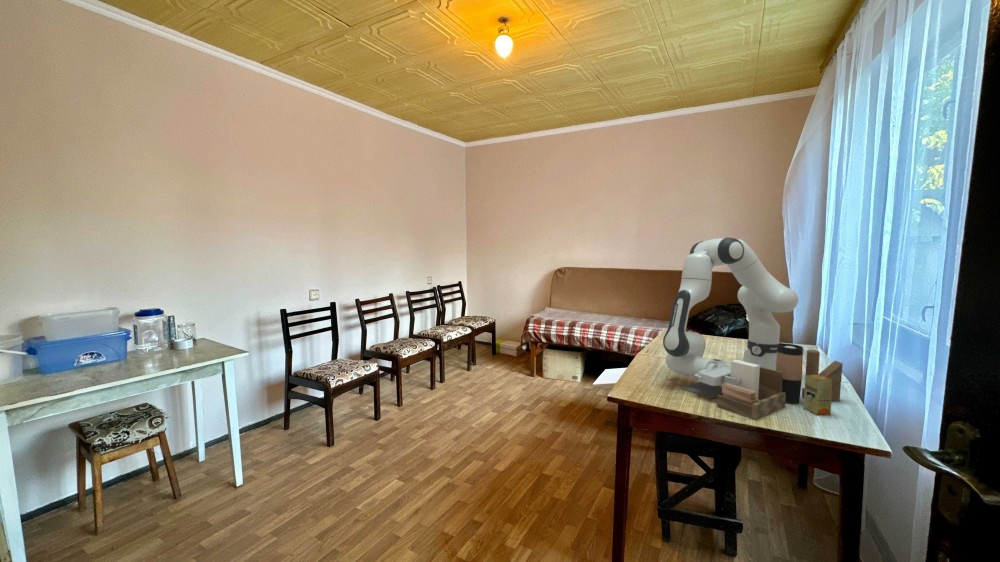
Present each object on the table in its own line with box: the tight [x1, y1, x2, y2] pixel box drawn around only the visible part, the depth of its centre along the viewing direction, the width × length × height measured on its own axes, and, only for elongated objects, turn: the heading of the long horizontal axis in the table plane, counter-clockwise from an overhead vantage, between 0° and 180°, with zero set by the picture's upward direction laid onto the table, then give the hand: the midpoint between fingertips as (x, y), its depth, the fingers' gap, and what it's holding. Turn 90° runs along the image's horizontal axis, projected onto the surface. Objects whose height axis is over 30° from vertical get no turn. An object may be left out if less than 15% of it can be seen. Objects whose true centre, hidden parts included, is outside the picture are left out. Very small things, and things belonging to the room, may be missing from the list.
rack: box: [716, 367, 786, 421], centre depth 135 cm, size 20×12×12 cm, turn 121°
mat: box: [681, 381, 723, 399], centre depth 151 cm, size 14×12×1 cm
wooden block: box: [801, 349, 843, 402], centre depth 141 cm, size 4×11×18 cm, turn 85°
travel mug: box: [776, 343, 804, 405], centre depth 140 cm, size 8×8×20 cm
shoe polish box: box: [803, 375, 833, 416], centre depth 130 cm, size 5×5×12 cm
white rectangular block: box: [729, 359, 760, 401], centre depth 139 cm, size 4×8×14 cm, turn 31°
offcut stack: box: [721, 383, 759, 405], centre depth 132 cm, size 4×10×8 cm, turn 31°
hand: (743, 380), depth 139 cm, fingers closed on white rectangular block, 3 cm apart
